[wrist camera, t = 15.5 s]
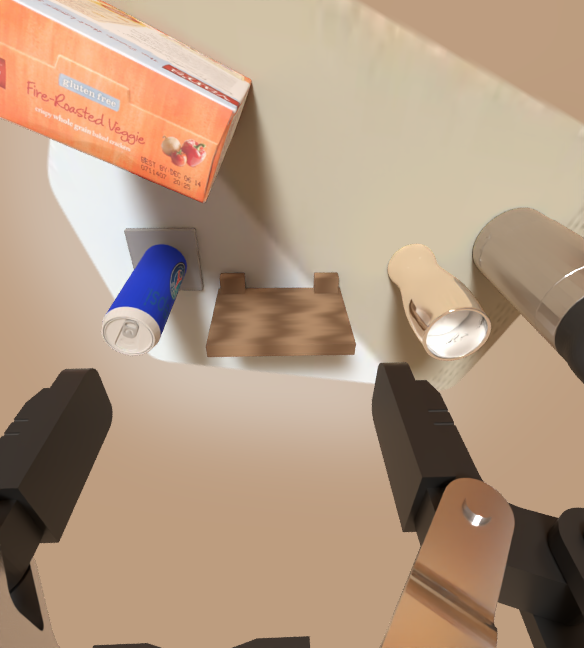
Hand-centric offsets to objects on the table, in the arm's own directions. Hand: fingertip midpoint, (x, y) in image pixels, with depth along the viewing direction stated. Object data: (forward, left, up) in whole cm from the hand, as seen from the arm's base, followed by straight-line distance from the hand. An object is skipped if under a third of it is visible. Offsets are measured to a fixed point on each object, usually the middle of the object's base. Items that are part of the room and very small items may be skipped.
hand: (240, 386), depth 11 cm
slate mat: (+12, +13, -35) cm, 40 cm away
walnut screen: (-2, +18, -35) cm, 40 cm away
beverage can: (+12, +13, -35) cm, 39 cm away
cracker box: (+8, -6, -36) cm, 37 cm away
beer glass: (-19, +14, -36) cm, 43 cm away
